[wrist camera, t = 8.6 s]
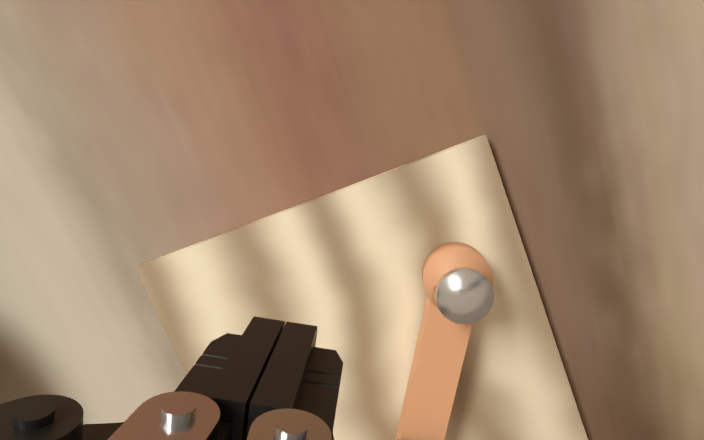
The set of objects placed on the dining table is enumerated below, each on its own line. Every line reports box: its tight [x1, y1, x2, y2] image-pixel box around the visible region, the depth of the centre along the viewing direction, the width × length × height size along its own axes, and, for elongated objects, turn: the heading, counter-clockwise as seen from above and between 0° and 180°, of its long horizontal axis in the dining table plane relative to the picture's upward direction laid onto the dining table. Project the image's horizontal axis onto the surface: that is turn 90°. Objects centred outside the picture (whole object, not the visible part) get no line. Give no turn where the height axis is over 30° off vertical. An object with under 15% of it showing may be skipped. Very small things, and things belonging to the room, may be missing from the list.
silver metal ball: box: [435, 267, 494, 324], centre depth 32 cm, size 3×3×3 cm
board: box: [135, 135, 588, 440], centre depth 39 cm, size 26×28×1 cm
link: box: [395, 242, 493, 440], centre depth 36 cm, size 18×4×2 cm, turn 170°
